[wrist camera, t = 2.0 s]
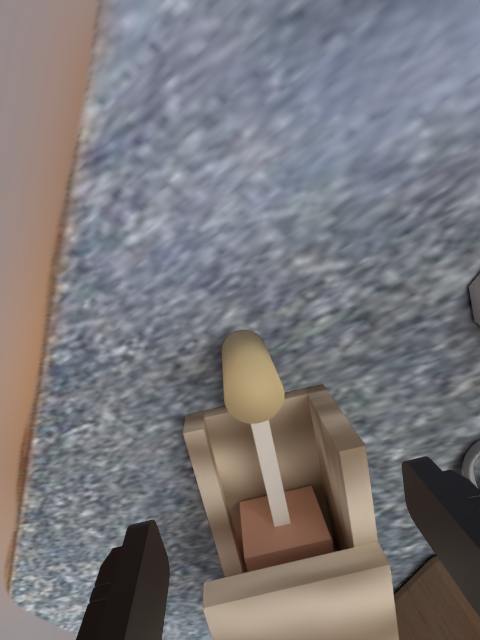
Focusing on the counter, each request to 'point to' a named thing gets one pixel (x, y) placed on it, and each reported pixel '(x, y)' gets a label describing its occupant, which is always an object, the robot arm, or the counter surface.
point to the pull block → (268, 463)
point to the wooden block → (434, 607)
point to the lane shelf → (338, 512)
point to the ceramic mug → (471, 462)
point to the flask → (475, 298)
